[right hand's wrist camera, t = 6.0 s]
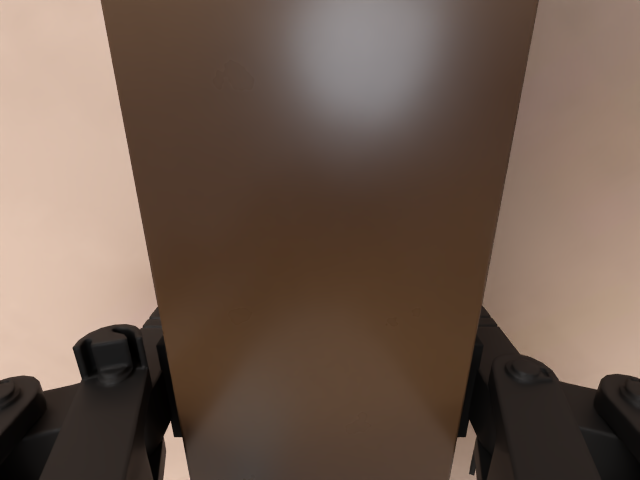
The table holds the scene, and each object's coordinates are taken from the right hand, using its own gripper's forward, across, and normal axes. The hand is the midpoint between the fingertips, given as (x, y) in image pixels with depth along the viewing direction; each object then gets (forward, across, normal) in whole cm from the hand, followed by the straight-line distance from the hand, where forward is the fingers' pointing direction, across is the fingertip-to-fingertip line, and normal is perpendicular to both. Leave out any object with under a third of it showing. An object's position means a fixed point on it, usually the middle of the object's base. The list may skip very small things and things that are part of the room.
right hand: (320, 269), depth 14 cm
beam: (+1, 0, -20) cm, 21 cm away
